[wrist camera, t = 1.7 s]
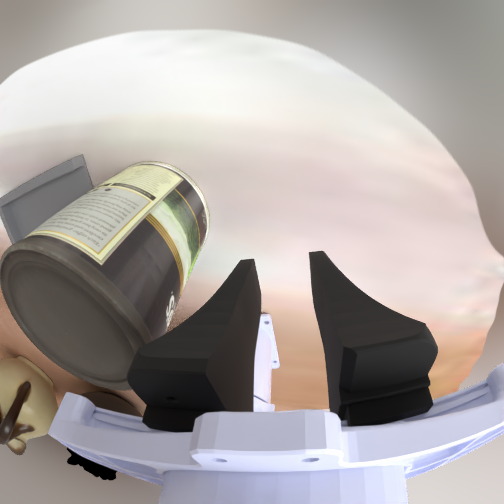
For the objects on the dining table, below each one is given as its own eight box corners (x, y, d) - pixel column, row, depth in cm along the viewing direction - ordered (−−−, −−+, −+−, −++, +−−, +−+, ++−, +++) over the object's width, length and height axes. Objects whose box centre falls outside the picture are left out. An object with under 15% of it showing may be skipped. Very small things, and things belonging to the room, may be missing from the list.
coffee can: (235, 214, 22) (194, 356, 10) (168, 282, 27) (114, 403, 15) (142, 134, 19) (4, 199, 7) (91, 218, 24) (-3, 312, 11)
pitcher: (26, 378, 53) (-3, 439, 32) (-9, 326, 41) (-53, 395, 19) (81, 406, 53) (54, 478, 32) (46, 356, 41) (0, 447, 20)
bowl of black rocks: (161, 394, 40) (134, 490, 24) (166, 429, 50) (149, 498, 34) (65, 358, 39) (26, 436, 23) (90, 402, 49) (65, 463, 33)
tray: (134, 287, 27) (127, 298, 26) (49, 292, 30) (42, 300, 28) (82, 154, 20) (71, 159, 18) (4, 195, 22) (-5, 201, 21)
